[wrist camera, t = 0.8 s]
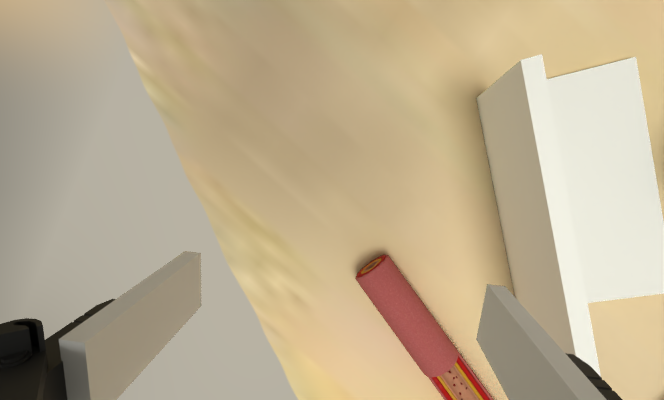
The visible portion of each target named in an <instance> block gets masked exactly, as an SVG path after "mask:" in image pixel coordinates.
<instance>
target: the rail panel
mask: <svg viewBox="0 0 664 400" xmlns="http://www.w3.org/2000/svg"><path fill="white" fill-rule="evenodd" d="M476 100H477V105H478V110H479V115H480V120H481V125H482V130H483V135H484V141H485V146H486V151H487V156H488V161H489V166H490V171H491V177H492V182H493V187H494V192H495V197H496V202H497V207H498V212H499V218H500V223H501V228H502V233H503V238H504V243H505V248H506V254H507V259H508V264H509V269H510V274H511V279H512V284H513V290H514V295H515V298H516V299H517V300H518V301H519V302H520V303H521V305H522V306H523V307H524V308H525V309H526V310H527V311H528V312H529V314H530V315H531V316H532V317H533V318H534V319H535V320H536V321H537V322H538V324H539V325H540V326H541V327H542V328H543V329H544V330H545V331H546V332H547V334H548V335H549V336H550V337H551V338H552V339H553V340H554V341H555V343H556V344H557V345H558V346H559V347H560V348H561V349H562V350H563V351H564V353H567V354H574V355H575V356H577V357H578V358H580V359H581V360H583V361H584V362H585V363H587V364H588V365H590V366H591V367H592V368H593V369H594V370H595V371H596V372H597V374H598V375H599V376H600V377H601V375H600V369H599V364H598V358H597V353H596V347H595V342H594V336H593V331H592V325H591V320H590V314H589V309H588V303H592V302H600V301H608V300H616V299H624V298H632V297H640V296H648V295H656V294H664V222H663V216H662V210H661V204H660V198H659V192H658V186H657V180H656V174H655V168H654V162H653V156H652V150H651V144H650V138H649V132H648V126H647V120H646V114H645V108H644V102H643V96H642V90H641V84H640V78H639V72H638V67H637V61H636V57H633V58H629V59H625V60H621V61H617V62H613V63H609V64H605V65H601V66H597V67H594V68H590V69H586V70H582V71H578V72H574V73H570V74H566V75H562V76H558V77H554V78H550V79H546V74H545V68H544V63H543V57H542V55H538V56H534V57H530V58H527V59H523V60H520V61H519V62H518V63H517V64H516V65H514V66H513V67H512V68H511V69H510V70H509V71H507V72H506V73H505V74H504V75H503V76H502V77H500V78H499V79H498V80H497V81H496V82H495V83H493V84H492V85H491V86H490V87H489V88H487V89H486V90H485V91H484V92H483V93H482V94H480V95H479V96H478V97H477V98H476Z"/></svg>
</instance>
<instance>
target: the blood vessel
mask: <svg viewBox="0 0 664 400" xmlns="http://www.w3.org/2000/svg"><path fill="white" fill-rule="evenodd" d="M356 280H357V282H358V283H359V284H360V286H361V287H362V289H363V290H364V291H365V293H366V294H367V296H368V297H369V298H370V300H371V301H372V302H373V304H374V305H375V307H376V308H377V309H378V311H379V312H380V314H381V315H382V316H383V318H384V319H385V320H386V322H387V323H388V325H389V326H390V327H391V329H392V330H393V332H394V333H395V334H396V336H397V337H398V338H399V340H400V341H401V343H402V344H403V345H404V347H405V348H406V350H407V351H408V352H409V354H410V355H411V357H412V358H413V359H414V361H415V362H416V363H417V365H418V366H419V368H420V369H421V370H422V372H423V373H424V374H425V375H426V376H428V377H429V379H430V380H431V382H432V383H433V384H434V386H435V387H436V388H437V390H438V391H439V393H440V394H441V395H442V397H443V398H444V400H493V399H492V397H491V396H490V395H489V393H488V392H487V390H486V389H485V388H484V386H483V385H482V384H481V382H480V381H479V379H478V378H477V377H476V375H475V374H474V373H473V371H472V370H471V368H470V367H469V366H468V364H467V363H466V362H465V360H464V359H463V357H462V356H461V355H460V353H459V352H458V351H457V349H456V348H455V346H454V345H453V344H452V342H451V341H450V340H449V338H448V337H447V335H446V334H445V333H444V331H443V330H442V329H441V327H440V326H439V324H438V323H437V322H436V320H435V319H434V318H433V316H432V315H431V313H430V312H429V311H428V309H427V308H426V307H425V305H424V304H423V303H422V301H421V300H420V298H419V297H418V296H417V294H416V293H415V292H414V290H413V289H412V287H411V286H410V285H409V283H408V282H407V281H406V279H405V278H404V276H403V275H402V274H401V272H400V271H399V270H398V268H397V267H396V265H395V264H394V263H393V261H392V260H391V259H390V257H389V256H388V255H382V256H380V257H378V258H376V259H375V260H373V261H372V262H370V263H369V264H368V265H366V266H365V267H364V268H362V269H361V270H360V272H358V274H357V276H356Z"/></svg>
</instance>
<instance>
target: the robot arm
mask: <svg viewBox="0 0 664 400" xmlns="http://www.w3.org/2000/svg"><path fill="white" fill-rule="evenodd" d="M200 307H201V253H196V252H187V251H185V252H183V253H182V254H180V255H179V256H177V257H176V258H175V259H173V260H172V261H170V262H169V263H167V264H166V265H164V266H163V267H162V268H160V269H159V270H157V271H156V272H154V273H153V274H152V275H150V276H149V277H147V278H146V279H144V280H143V281H142V282H140V283H139V284H138V285H136V286H134V287H133V288H132V289H130V290H129V291H127V292H126V293H124V294H123V295H121V296H120V297H119V298H117V299H111V300H109V301H106V302H104V303H102V304H99V305H97V306H95V307H94V308H92V309H91V310H89V311H88V312H86V313H85V314H84V316H80V317H79V318H77V319H76V320H74V322H73V323H72V322H71V323H70V324H68V325H67V326H65V327H64V328H62V329H61V330H60V331H58V332H56V333H55V334H53V335H52V336H50V337H49V338H47V339H46V340H44V332H43V325H42V322H41V321H39V320H37V319H19V320H13V321H10V322H6V323H2V324H0V400H117V398H118V397H119V396H120V395H121V394H122V393H123V392H124V391H125V389H126V388H127V387H128V386H129V385H130V384H131V383H132V382H133V381H134V380H135V379H136V377H137V376H138V375H139V374H140V373H141V372H142V371H143V370H144V369H145V367H146V366H147V365H148V364H149V363H150V362H151V361H152V360H153V359H154V357H155V356H156V355H157V354H158V353H159V352H160V351H161V350H162V349H163V348H164V346H165V345H166V344H167V343H168V342H169V341H170V340H171V339H172V338H173V337H174V335H175V334H176V333H177V332H178V331H179V330H180V329H181V328H182V326H183V325H184V324H185V323H186V322H187V321H188V320H189V319H190V318H191V317H192V316H193V314H194V313H195V312H196V311H197V310H198V309H199V308H200ZM477 341H478V343H479V345H480V347H481V349H482V351H483V352H484V354H485V356H486V358H487V360H488V362H489V364H490V365H491V367H492V369H493V371H494V373H495V375H496V377H497V378H498V380H499V382H500V384H501V386H502V388H503V390H504V392H505V393H506V395H507V397H508V399H509V400H622V399H621V398H620V397H619V396H618V394H617V393H616V392H615V391H612V388H611V387H610V386H609V385H608V384H607V383H606V382H605V381H604V380H602V378H601V377H600V376H599V375H598V374H597V372H596V371H595V370H594V369H593V368H592V367H591V366H590V365H588V364H587V363H585V362H584V361H583V360H581V359H580V358H578V357H577V356H575V355H574V354H567V353H564V351H563V350H562V349H561V348H560V347H559V346H558V345H557V344H556V343H555V341H554V340H553V339H552V338H551V337H550V336H549V335H548V334H547V332H546V331H545V330H544V329H543V328H542V327H541V326H540V325H539V324H538V322H537V321H536V320H535V319H534V318H533V317H532V316H531V315H530V314H529V312H528V311H527V310H526V309H525V308H524V307H523V306H522V305H521V303H520V302H519V301H518V300H517V299H516V298H515V297H514V296H513V295H512V293H511V292H510V291H509V290H508V289H507V288H506V287H505V286H498V285H489V284H487V288H486V293H485V298H484V303H483V308H482V313H481V318H480V323H479V328H478V333H477Z"/></svg>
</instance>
